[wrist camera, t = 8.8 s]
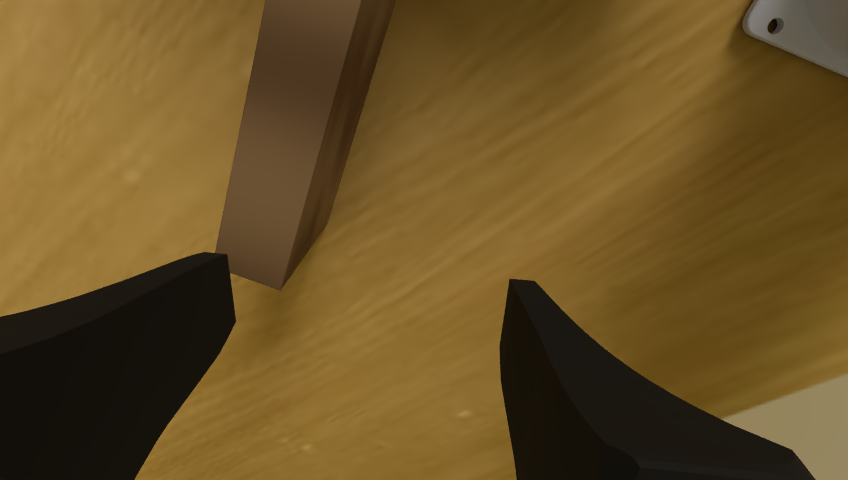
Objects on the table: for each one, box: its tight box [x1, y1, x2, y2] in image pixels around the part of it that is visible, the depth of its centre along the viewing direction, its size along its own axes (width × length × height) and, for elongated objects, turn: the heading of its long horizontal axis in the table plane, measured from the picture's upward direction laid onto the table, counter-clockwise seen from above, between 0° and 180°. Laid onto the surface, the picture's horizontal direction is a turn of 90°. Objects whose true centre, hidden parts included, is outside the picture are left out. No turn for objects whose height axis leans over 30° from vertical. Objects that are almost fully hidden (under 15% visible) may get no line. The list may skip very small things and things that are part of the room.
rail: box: [215, 0, 395, 290], centre depth 15 cm, size 17×3×6 cm, turn 160°
